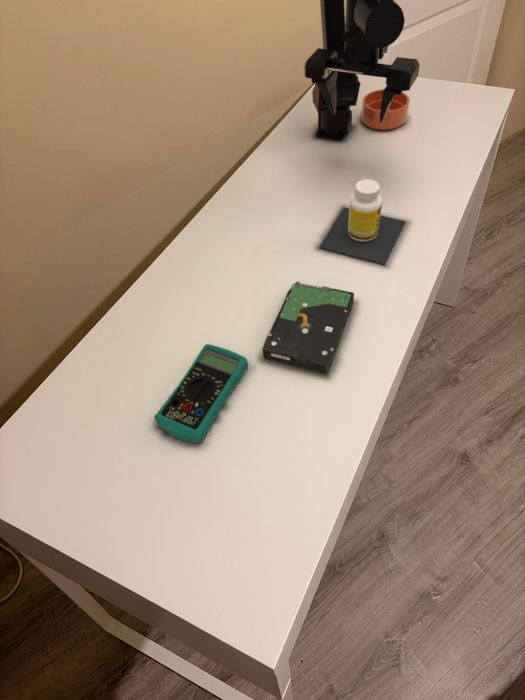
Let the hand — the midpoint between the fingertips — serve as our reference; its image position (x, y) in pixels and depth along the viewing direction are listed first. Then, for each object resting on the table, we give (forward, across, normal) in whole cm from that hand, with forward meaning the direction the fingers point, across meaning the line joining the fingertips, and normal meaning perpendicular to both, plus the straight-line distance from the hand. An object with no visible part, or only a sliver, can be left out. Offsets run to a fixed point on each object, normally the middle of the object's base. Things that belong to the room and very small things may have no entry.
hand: (357, 117), depth 91 cm
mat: (+12, -8, +17) cm, 22 cm away
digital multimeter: (+12, +1, +58) cm, 59 cm away
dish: (+12, +1, -22) cm, 25 cm away
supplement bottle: (+12, -8, +17) cm, 22 cm away
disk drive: (+12, -8, +41) cm, 44 cm away
